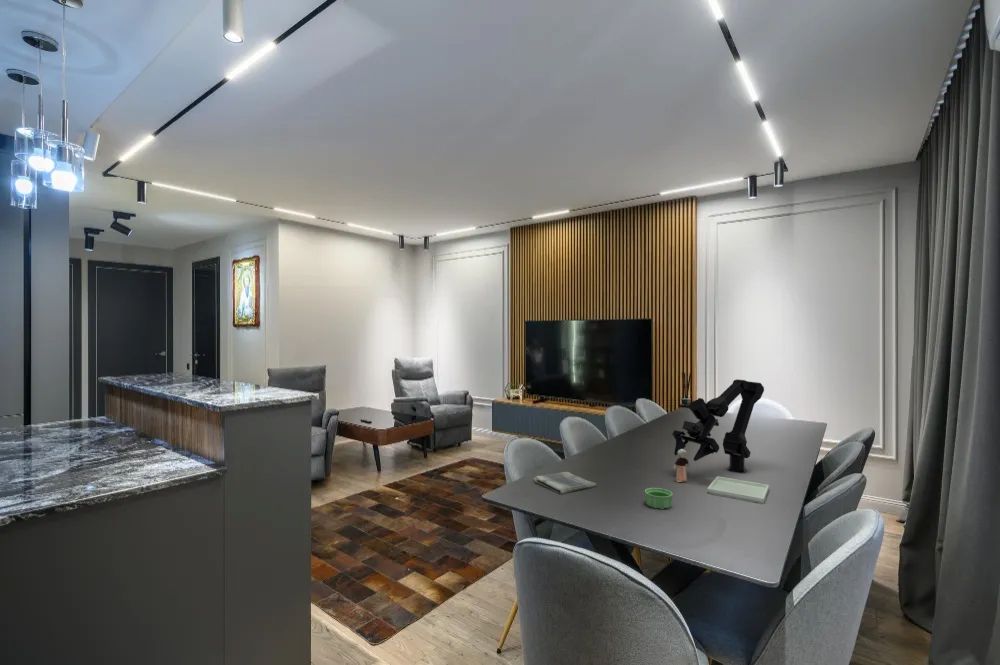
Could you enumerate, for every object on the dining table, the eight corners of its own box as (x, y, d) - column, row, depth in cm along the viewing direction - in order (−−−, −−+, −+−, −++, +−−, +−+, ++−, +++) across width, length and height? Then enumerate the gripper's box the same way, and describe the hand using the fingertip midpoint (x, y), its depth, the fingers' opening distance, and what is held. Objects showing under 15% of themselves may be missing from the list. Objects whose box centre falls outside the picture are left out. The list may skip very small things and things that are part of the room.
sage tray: (716, 480, 189) (716, 476, 189) (769, 489, 178) (769, 485, 178) (707, 493, 174) (707, 488, 174) (763, 504, 164) (763, 498, 164)
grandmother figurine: (680, 484, 184) (680, 451, 184) (671, 481, 187) (672, 449, 187) (692, 481, 188) (692, 448, 188) (683, 478, 191) (683, 446, 191)
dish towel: (598, 488, 180) (598, 479, 180) (560, 496, 171) (560, 487, 171) (566, 475, 196) (566, 467, 196) (530, 482, 186) (530, 473, 186)
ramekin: (638, 502, 164) (639, 489, 164) (660, 499, 168) (660, 486, 168) (656, 511, 156) (656, 498, 156) (678, 508, 159) (678, 494, 159)
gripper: (675, 410, 199) (655, 439, 193) (715, 417, 182) (694, 449, 177) (688, 427, 203) (669, 456, 197) (728, 436, 186) (708, 468, 181)
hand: (684, 457), depth 188 cm, fingers open, 9 cm apart
